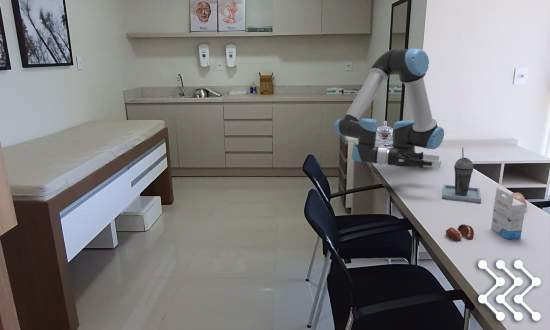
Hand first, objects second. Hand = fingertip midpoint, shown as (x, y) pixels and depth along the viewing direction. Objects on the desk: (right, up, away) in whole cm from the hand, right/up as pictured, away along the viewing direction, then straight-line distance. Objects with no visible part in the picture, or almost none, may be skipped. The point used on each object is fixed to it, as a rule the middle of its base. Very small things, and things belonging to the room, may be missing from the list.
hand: (439, 161), depth 165 cm
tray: (+8, -14, -2) cm, 16 cm away
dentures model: (-10, -25, -38) cm, 47 cm away
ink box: (+6, -24, -37) cm, 44 cm away
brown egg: (+23, -13, -17) cm, 32 cm away
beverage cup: (+8, -14, -2) cm, 16 cm away
